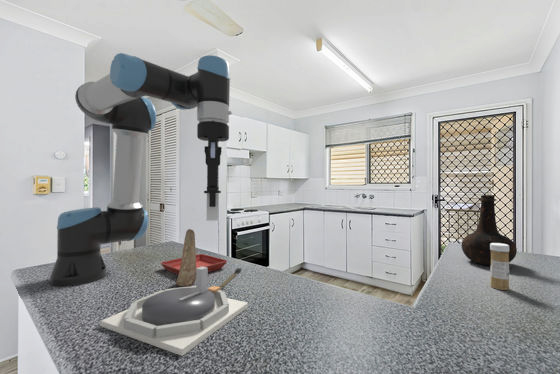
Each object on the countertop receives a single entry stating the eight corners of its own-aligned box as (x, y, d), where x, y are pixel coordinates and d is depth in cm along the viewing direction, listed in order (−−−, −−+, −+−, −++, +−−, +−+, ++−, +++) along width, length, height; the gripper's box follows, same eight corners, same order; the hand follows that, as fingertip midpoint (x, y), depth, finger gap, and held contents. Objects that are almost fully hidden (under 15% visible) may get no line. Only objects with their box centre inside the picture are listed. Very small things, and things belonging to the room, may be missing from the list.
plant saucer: (159, 270, 100) (159, 261, 100) (201, 261, 113) (201, 253, 113) (184, 281, 88) (184, 271, 88) (228, 269, 102) (228, 260, 102)
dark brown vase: (470, 267, 103) (470, 195, 103) (455, 256, 120) (455, 194, 120) (527, 272, 98) (527, 195, 98) (502, 259, 115) (502, 194, 115)
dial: (170, 335, 52) (170, 292, 52) (127, 314, 61) (128, 277, 61) (228, 306, 65) (228, 271, 66) (186, 292, 74) (187, 261, 74)
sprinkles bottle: (496, 284, 85) (496, 242, 85) (513, 289, 80) (512, 244, 80) (486, 286, 83) (486, 243, 83) (503, 291, 79) (503, 246, 79)
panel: (100, 326, 58) (101, 309, 59) (179, 291, 79) (179, 279, 79) (182, 356, 48) (182, 335, 48) (248, 306, 68) (248, 292, 68)
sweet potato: (178, 290, 81) (198, 287, 84) (182, 233, 79) (203, 232, 82) (173, 281, 86) (193, 278, 90) (177, 227, 84) (197, 226, 88)
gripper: (230, 118, 60) (229, 223, 60) (227, 130, 72) (227, 216, 72) (195, 115, 58) (194, 224, 58) (199, 128, 71) (198, 217, 71)
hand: (212, 220), depth 65 cm, fingers closed
